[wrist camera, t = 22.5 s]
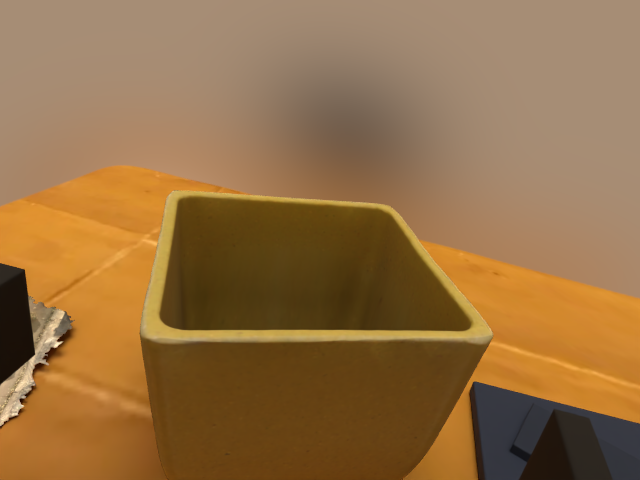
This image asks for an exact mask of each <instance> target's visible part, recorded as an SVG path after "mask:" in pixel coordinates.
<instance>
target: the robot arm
mask: <svg viewBox="0 0 640 480" xmlns="http://www.w3.org/2000/svg"><path fill="white" fill-rule="evenodd" d="M34 355H35V347H34V339H33V331H32V323H31V315H30V307H29V299H28V291H27V284H26V276H25V270H24V269H20V268H17V267H13V266H9V265H5V264H1V263H0V385H1V384H2V383H3V382H4V381H5V380H6V379H8V378H9V377H10V376H11V375H12V374H13V373H15V372H16V371H17V370H18V369H19V368H20V367H22V366H23V365H24V364H25V363H26V362H27V361H29V360H30V359H31V358H32V357H33V356H34ZM519 480H613V478H612V476H611V473H610V470H609V468H608V465H607V463H606V460H605V457H604V455H603V452H602V450H601V447H600V444H599V442H598V439H597V436H596V434H595V431H594V429H593V426H592V423H591V421H590V418H587V417H584V416H580V415H576V414H572V413H568V412H565V411H561V410H557V409H554V410H553V412H552V414H551V416H550V418H549V420H548V422H547V424H546V426H545V428H544V430H543V432H542V434H541V436H540V438H539V440H538V442H537V444H536V446H535V448H534V450H533V452H532V454H531V456H530V458H529V460H528V462H527V464H526V466H525V468H524V470H523V472H522V474H521V476H520V478H519Z"/></svg>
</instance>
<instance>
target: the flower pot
mask: <svg viewBox="0 0 640 480" xmlns="http://www.w3.org/2000/svg"><path fill="white" fill-rule="evenodd" d="M140 338H141V346H142V353H143V360H144V366H145V372H146V379H147V385H148V392H149V399H150V405H151V412H152V418H153V423H154V429H155V436H156V442H157V447H158V452H159V457H160V461H161V464H162V467H163V470H164V472H165V475H166V477H167V479H168V480H401V479H403V478H404V477H405V476H406V475H408V474H409V473H410V472H411V471H412V470H413V469H414V468H415V467H416V466H417V465H418V464H419V462H420V461H421V460H422V459H423V457H424V456H425V455H426V453H427V452H428V450H429V449H430V447H431V446H432V444H433V443H434V441H435V439H436V438H437V436H438V434H439V432H440V431H441V429H442V427H443V425H444V424H445V422H446V420H447V419H448V417H449V415H450V413H451V412H452V410H453V408H454V406H455V405H456V403H457V401H458V399H459V397H460V396H461V394H462V392H463V390H464V388H465V387H466V385H467V383H468V381H469V379H470V378H471V376H472V374H473V372H474V370H475V368H476V367H477V365H478V363H479V361H480V359H481V358H482V356H483V354H484V352H485V351H486V349H487V347H488V345H489V344H490V342H491V340H492V338H493V332H492V330H491V329H490V327H489V326H488V324H487V323H486V321H485V320H484V319H483V318H482V317H481V315H480V314H479V313H478V311H477V310H476V309H475V308H474V307H473V306H472V304H471V303H470V302H469V300H468V299H467V298H466V297H465V296H464V295H463V294H462V293H461V292H460V291H459V290H458V288H457V287H456V286H455V285H454V283H453V282H452V281H451V280H450V278H449V277H448V276H447V275H446V274H445V273H444V272H443V270H442V269H441V268H440V267H439V266H438V265H437V264H436V263H435V261H434V260H433V259H432V257H431V256H430V255H429V254H428V252H427V251H426V250H425V248H424V247H423V246H422V244H421V243H420V242H419V240H418V239H417V237H416V236H415V234H414V233H413V232H412V230H411V229H410V228H409V226H408V225H407V224H406V223H405V221H404V220H403V218H402V217H401V216H400V215H399V214H398V213H397V212H396V211H395V210H394V209H392V207H390V206H388V205H382V204H375V203H361V202H345V201H331V200H311V199H299V198H283V197H270V196H257V195H241V194H228V193H213V192H200V191H178V190H174V191H173V192H171V193H170V194H169V196H168V197H167V199H166V203H165V209H164V215H163V220H162V225H161V231H160V235H159V239H158V244H157V250H156V255H155V260H154V264H153V268H152V273H151V278H150V282H149V285H148V289H147V293H146V297H145V302H144V308H143V312H142V318H141V326H140Z"/></svg>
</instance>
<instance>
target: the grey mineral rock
mask: <svg viewBox="0 0 640 480" xmlns="http://www.w3.org/2000/svg"><path fill="white" fill-rule="evenodd" d="M32 298H33V297H31V296H28V299H29V307H30V315H31V323H32V331H33V339H34V347H35V355H34V356H33V357H32V358H31V359H30V360H29V361H27V362H26V363H25V364H24V365H23V366H22V367H20V368H19V369H18V370H17V371H16V372H15V373H13V374H12V375H11V376H10V377H9V378H8V379H6V380H5V381H4V382H3V383H2V384H1V385H0V426H2V424H4V422H3V421H8V418H9V417H13V416H16V415H18V411H19V410H20V409H21V408H22V407H24V406H23V405H21V403H20V400H19V399H20V398H24V399H25V397H26V396H23V395H25V393H28V392H29V391H30V390H32V388H31V386H33V385H36V384H35V382H34V380H33V377H32V373H33V372H32V371H33V369H34V368H35V367H34V365H35V364H37V363H39V362H40V363H44V364H47V365H49V364H48V363H46V359H45V360H42V358H44V357H43V356H45V355H46V354H45V353H47V352H48V351H49V350H50V347H54V348H56V347H58V345H60V344H61V343H62V342H56V341H57V340H58V339H59V337H60V336H63V335H62V334H65V333H66V332H67V330H68V329H71V328H72V326H71V324H70V323H72V322H73V321H74V320H73V321H72V320H71V321H70V319H69V318H71V316H68V315H67V313H66V311H62V310H59V309H55V308H56V307H51V308H47V307H45V306H44V303H42V302H38V304H34V303H33V302H34V301H35V300H34V299H32ZM63 342H64V341H63ZM46 356H48V355H46Z"/></svg>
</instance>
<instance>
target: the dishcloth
mask: <svg viewBox="0 0 640 480" xmlns="http://www.w3.org/2000/svg"><path fill="white" fill-rule="evenodd" d="M470 397H471V407H472V416H473V426H474V435H475V445H476V454H477V464H478V474H479V480H519V478H520V476H521V474H522V472H523V470H524V468H525V466H526V464H527V462H528V460H529V458H530V456H531V454H532V452H533V450H534V448H535V446H536V444H537V442H538V440H539V438H540V436H541V434H542V432H543V430H544V428H545V426H546V424H547V422H548V420H549V418H550V416H551V414H552V412H553V410H554V409H557V410H561V411H565V412H568V413H572V414H576V415H580V416H584V417H587V418H590V421H591V423H592V426H593V429H594V431H595V434H596V436H597V439H598V442H599V444H600V447H601V450H602V452H603V455H604V457H605V460H606V463H607V465H608V468H609V470H610V473H611V476H612V478H613V480H640V424H639V423H635V422H631V421H627V420H623V419H619V418H615V417H611V416H608V415H604V414H600V413H596V412H592V411H588V410H584V409H580V408H576V407H572V406H569V405H565V404H561V403H557V402H553V401H549V400H545V399H541V398H537V397H533V396H530V395H526V394H522V393H518V392H514V391H510V390H506V389H502V388H498V387H494V386H491V385H487V384H483V383H479V382H473V384H472V387H471V390H470Z"/></svg>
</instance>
